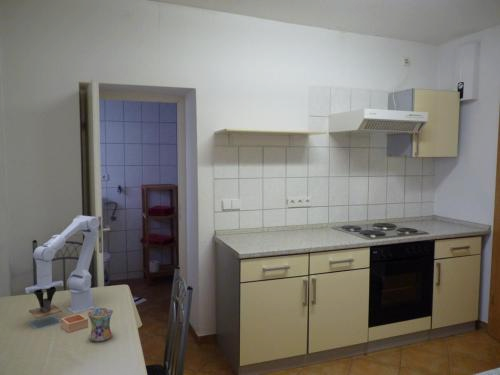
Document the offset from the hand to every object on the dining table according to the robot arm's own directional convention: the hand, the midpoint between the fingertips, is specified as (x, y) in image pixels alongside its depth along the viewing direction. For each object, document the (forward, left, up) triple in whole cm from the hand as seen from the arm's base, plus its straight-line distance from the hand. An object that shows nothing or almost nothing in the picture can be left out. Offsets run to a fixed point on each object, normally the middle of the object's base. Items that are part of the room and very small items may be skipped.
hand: (45, 305), depth 171 cm
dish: (-7, +13, -8) cm, 17 cm away
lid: (0, 0, -3) cm, 3 cm away
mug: (-11, +28, -8) cm, 31 cm away
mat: (0, 0, -8) cm, 8 cm away
